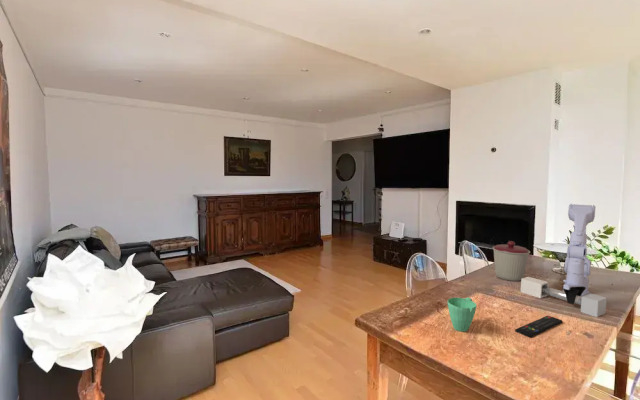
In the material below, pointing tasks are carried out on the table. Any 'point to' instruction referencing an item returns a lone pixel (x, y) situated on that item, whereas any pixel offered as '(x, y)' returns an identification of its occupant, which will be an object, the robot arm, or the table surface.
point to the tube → (559, 294)
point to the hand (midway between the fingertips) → (572, 302)
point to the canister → (510, 261)
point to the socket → (593, 305)
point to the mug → (461, 313)
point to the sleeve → (533, 286)
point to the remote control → (538, 326)
